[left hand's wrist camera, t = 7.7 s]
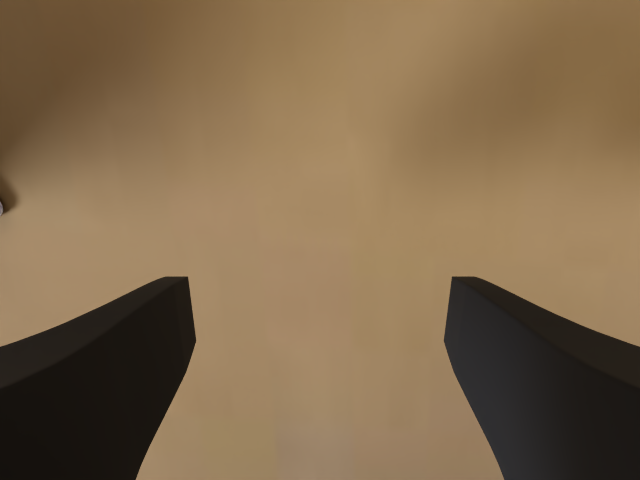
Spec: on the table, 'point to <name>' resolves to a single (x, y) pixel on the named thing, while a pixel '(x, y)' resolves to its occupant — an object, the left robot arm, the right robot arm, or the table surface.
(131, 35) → the table surface
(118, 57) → the table surface
